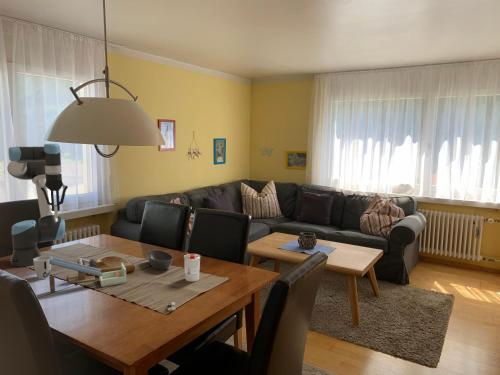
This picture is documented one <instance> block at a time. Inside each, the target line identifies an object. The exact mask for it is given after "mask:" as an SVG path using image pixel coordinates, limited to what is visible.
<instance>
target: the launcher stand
mask: <svg viewBox="0 0 500 375" xmlns="http://www.w3.org/2000/svg"><path fill="white" fill-rule="evenodd" d="M76 263H77V264H80V261H79V259H78V260H77V262H76ZM82 264H83V265H85V264H86V262H84V260H83V261H82ZM85 266H86V265H85ZM95 276H96V275H94V276H86V275H85V273H84V272H80V271H77V274H72V275H67V278H68V285H74V284H82V283H87V282H92V281H96V277H95ZM48 278H49V293H51V294H53V293H55V292H56V281H55V275H50V276H49V277H48Z"/></svg>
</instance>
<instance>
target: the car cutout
mask: <svg viewBox="0 0 500 375" xmlns="http://www.w3.org/2000/svg"><path fill="white" fill-rule="evenodd" d="M168 305H169V306H170V307H168V308H167V311H177V310H176V307H175V305H176V302H175V301H172V299H170V302H168V303H167V306H168Z"/></svg>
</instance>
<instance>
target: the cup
mask: <svg viewBox="0 0 500 375" xmlns="http://www.w3.org/2000/svg"><path fill="white" fill-rule="evenodd" d="M51 257H52V256H51V255H41V256H40V257H36V258H34V259H33V262H34V265H33V268H34V270H35V275H36V276H37V279H38V280H44V279H48V278H49V276H51V272H52V264H49V261H50V258H51Z"/></svg>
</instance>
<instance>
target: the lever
mask: <svg viewBox="0 0 500 375" xmlns="http://www.w3.org/2000/svg"><path fill="white" fill-rule="evenodd" d="M78 260H79V264H78V263H77V262H74V261H70V260H65V259H62V258H57V257H54V256H51V258H50V261H49V264H51V266H56V267H60V268H65V269H68V270H73V271H77V272H78V271H80V272H84V273H88V274H92V275H94V276H97V277H99V276H100V277H101V275H102V273H103V272H101V271H102V269H100V268H96V266H97V265H98V262H97V259H96V258H90V259H89V260H88V259H85V258H81V257H79V258H78ZM83 260H84V263H88V265H89V266H88V265H83V264H82V263H83Z"/></svg>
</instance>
